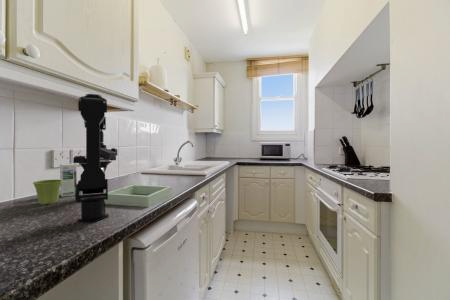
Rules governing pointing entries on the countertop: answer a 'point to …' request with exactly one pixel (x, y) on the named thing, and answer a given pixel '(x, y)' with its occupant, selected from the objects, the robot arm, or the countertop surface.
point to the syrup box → (68, 179)
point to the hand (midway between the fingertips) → (96, 177)
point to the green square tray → (126, 197)
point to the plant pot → (47, 191)
